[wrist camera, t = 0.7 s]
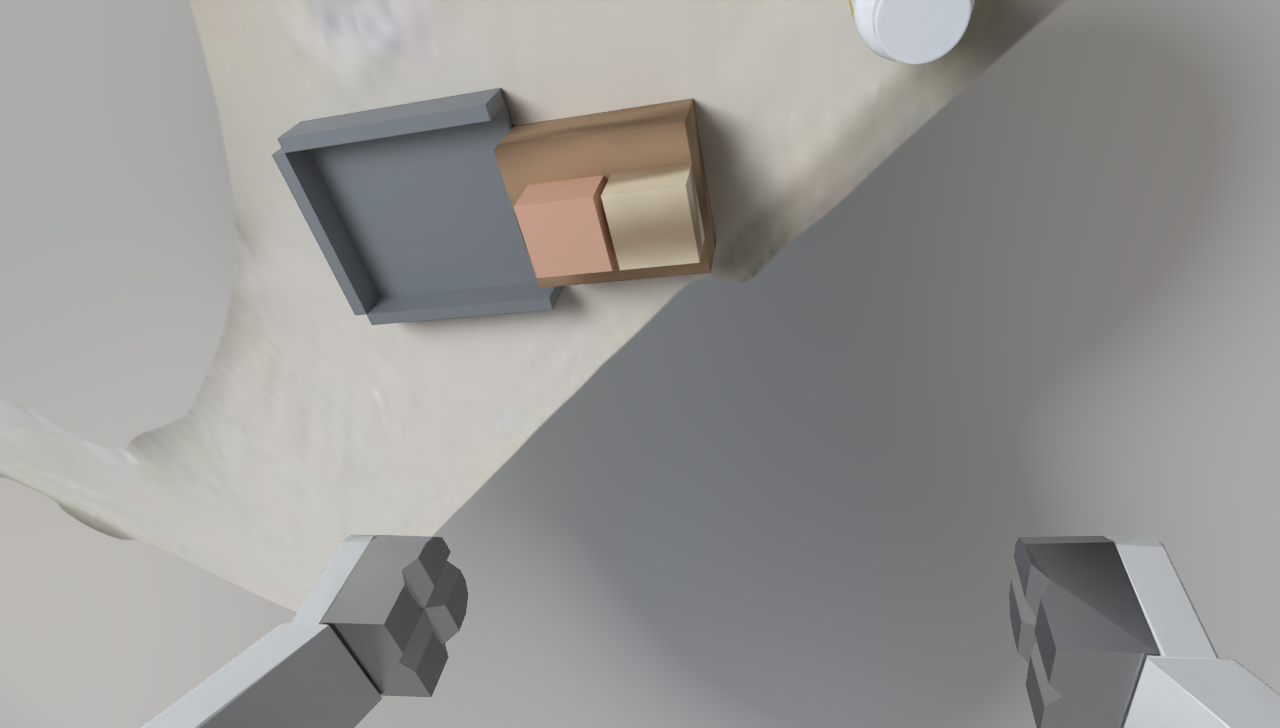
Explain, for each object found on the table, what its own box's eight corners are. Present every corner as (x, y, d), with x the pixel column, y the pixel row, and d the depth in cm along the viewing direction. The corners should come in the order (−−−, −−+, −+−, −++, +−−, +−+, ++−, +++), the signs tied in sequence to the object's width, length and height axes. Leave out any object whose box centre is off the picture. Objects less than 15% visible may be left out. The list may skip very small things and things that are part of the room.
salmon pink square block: (527, 185, 47) (513, 206, 44) (603, 175, 45) (592, 196, 43) (549, 254, 50) (537, 278, 47) (621, 246, 48) (612, 271, 46)
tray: (288, 123, 51) (264, 140, 49) (500, 88, 47) (485, 104, 45) (377, 304, 60) (360, 325, 58) (563, 287, 56) (552, 309, 54)
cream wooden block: (611, 174, 45) (600, 196, 43) (691, 163, 44) (685, 185, 42) (628, 246, 48) (619, 270, 46) (704, 238, 47) (699, 262, 45)
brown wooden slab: (512, 126, 49) (493, 150, 46) (692, 98, 46) (684, 122, 43) (554, 258, 55) (539, 288, 51) (716, 242, 51) (710, 272, 48)
